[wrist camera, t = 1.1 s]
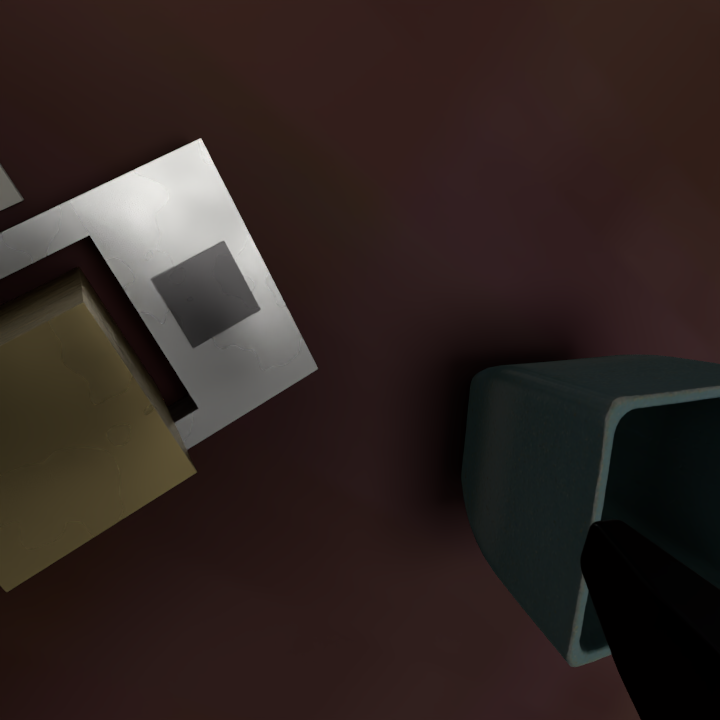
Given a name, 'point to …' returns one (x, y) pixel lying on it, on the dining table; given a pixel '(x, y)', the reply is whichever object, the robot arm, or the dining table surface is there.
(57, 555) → the brown wooden block
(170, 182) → the grey flat frame
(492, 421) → the flower pot
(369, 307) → the dining table surface
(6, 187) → the pad
